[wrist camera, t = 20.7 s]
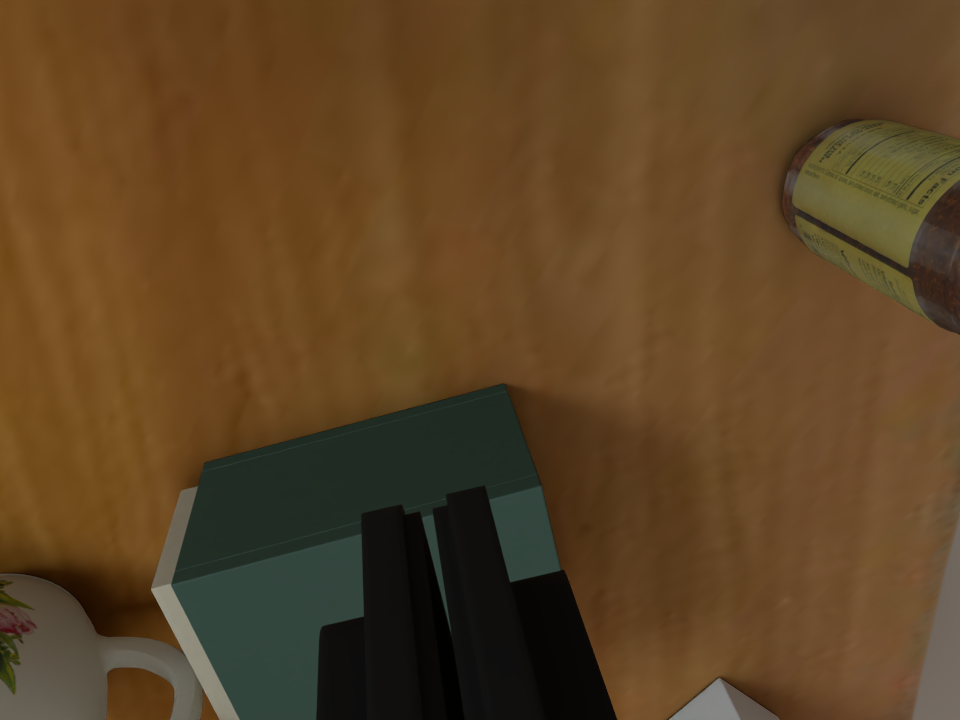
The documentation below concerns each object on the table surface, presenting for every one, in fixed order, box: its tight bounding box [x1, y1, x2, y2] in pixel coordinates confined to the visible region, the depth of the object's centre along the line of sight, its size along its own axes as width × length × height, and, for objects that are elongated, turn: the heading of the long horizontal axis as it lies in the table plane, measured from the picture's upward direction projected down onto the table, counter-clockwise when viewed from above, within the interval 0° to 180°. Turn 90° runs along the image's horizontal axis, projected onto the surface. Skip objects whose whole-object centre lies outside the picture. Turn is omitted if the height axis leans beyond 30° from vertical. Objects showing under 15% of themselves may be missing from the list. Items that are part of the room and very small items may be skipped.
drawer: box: [151, 486, 239, 720], centre depth 39 cm, size 15×11×7 cm
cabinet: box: [171, 384, 561, 720], centre depth 39 cm, size 15×13×9 cm
